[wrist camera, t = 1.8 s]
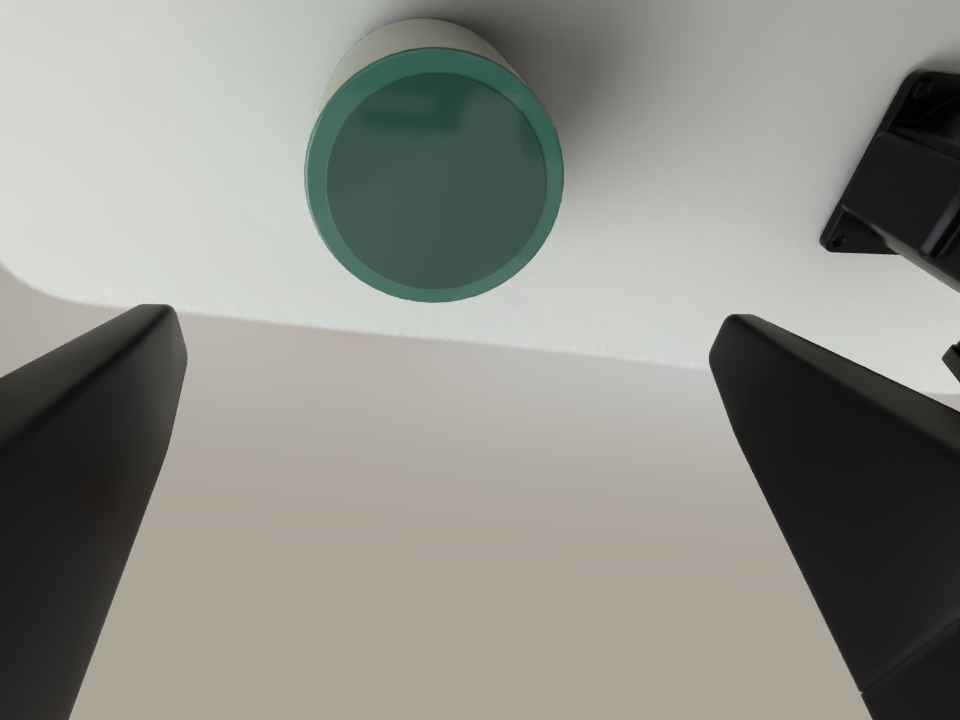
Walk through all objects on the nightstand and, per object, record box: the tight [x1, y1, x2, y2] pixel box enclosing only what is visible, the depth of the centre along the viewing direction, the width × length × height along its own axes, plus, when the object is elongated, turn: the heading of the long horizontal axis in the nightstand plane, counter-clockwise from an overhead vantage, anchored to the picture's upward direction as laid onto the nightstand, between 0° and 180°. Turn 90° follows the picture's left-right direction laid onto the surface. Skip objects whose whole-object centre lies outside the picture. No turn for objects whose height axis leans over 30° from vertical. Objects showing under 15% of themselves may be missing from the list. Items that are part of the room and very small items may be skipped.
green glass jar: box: [304, 18, 564, 303], centre depth 15 cm, size 6×6×5 cm
